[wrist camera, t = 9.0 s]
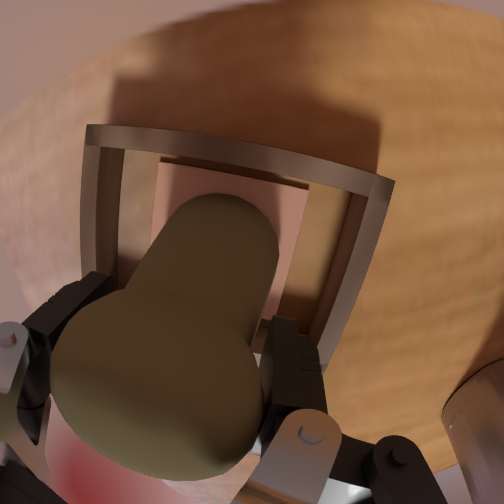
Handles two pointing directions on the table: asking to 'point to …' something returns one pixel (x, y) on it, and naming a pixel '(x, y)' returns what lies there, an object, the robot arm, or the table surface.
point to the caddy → (250, 189)
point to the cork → (175, 347)
